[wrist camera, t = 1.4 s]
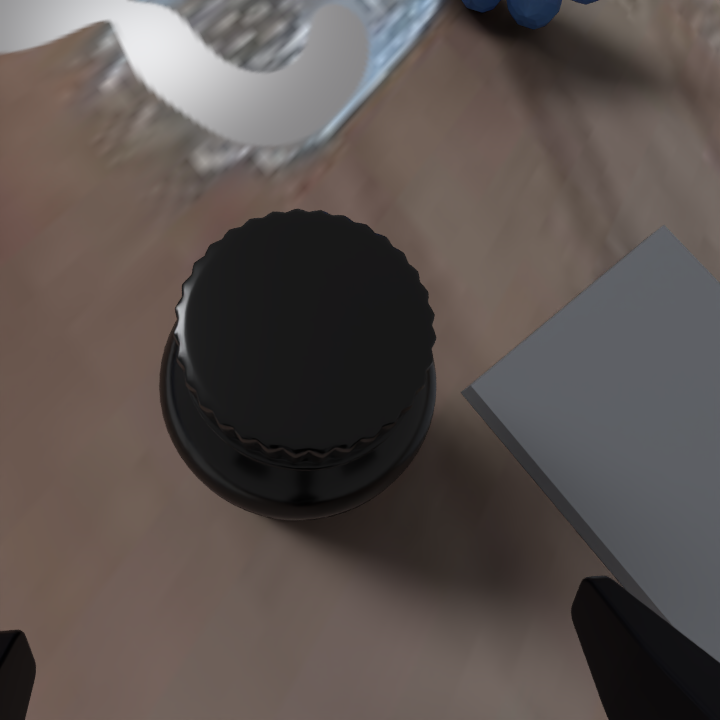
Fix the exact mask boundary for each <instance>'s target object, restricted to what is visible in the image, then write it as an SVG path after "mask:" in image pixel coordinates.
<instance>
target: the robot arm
mask: <svg viewBox="0 0 720 720" xmlns="http://www.w3.org/2000/svg"><path fill="white" fill-rule="evenodd" d="M571 615H572V620H573V624H574V626H575V629H576V632H577V635H578V638H579V640H580V643H581V646H582V649H583V652H584V654H585V657H586V660H587V663H588V666H589V668H590V671H591V674H592V677H593V680H594V682H595V685H596V688H597V691H598V694H599V696H600V699H601V702H602V704H603V707H604V710H605V712H606V715H607V717H608V719H609V720H720V662H718V661H717V660H716V659H715V658H713V657H712V656H711V655H709V654H708V653H707V652H706V651H704V650H703V649H702V648H700V647H699V646H698V645H697V644H695V643H694V642H693V641H691V640H690V639H689V638H687V637H686V636H685V635H684V634H682V633H681V632H680V631H678V630H677V629H676V628H675V627H673V626H672V625H671V624H669V623H668V622H667V621H666V620H664V619H663V618H662V617H660V616H659V615H658V614H656V613H655V612H654V611H653V610H651V609H650V608H649V607H647V606H646V605H645V604H644V603H642V602H641V601H640V600H638V599H637V598H636V597H635V596H633V595H632V594H631V593H629V592H628V591H627V590H625V589H624V588H623V587H622V586H620V585H619V584H618V583H616V582H615V581H614V580H612V579H611V578H609V577H607V576H593V577H586V578H584V579H583V580H582V581H581V584H580V586H579V589H578V591H577V594H576V596H575V599H574V602H573V604H572V608H571ZM35 674H36V663H35V660H34V657H33V654H32V652H31V649H30V646H29V644H28V641H27V638H26V636H25V634H24V632H22V631H21V630H8V631H0V720H25V717H26V713H27V709H28V705H29V701H30V696H31V692H32V688H33V684H34V680H35Z"/></svg>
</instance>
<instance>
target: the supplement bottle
mask: <svg viewBox="0 0 720 720" xmlns="http://www.w3.org/2000/svg"><path fill="white" fill-rule="evenodd" d="M428 298H429V296H428V291H427V290H426V289H425V287H424V286H423V285H422V284H421V283H420V280H419V274H418V271H417V270H416V269H415V268H414V267H412V266H411V265H410V264H408V261H407V259H406V256H405V254H404V253H403V252H402V251H400V250H398V249H396V248H395V247H393V246H392V245H391V243H390V241H389V240H388V239H387V237H385V236H382V235H380V234H377V233H374V232H373V230H372V229H371V228H370V227H368V226H367V225H366V224H362V223H355V222H353V221H351V220H350V219H349V218H347V217H346V216H344V215H330V214H328V213H327V212H324V211H322V210H318V211H312V212H307V211H304V210H301V209H294V210H291V211H289V212H286V213H284V212H271V213H270V214H268V215H267V216H265V217H263V218H253V219H249V220H248V221H247V222H246V223H245V224H244V225H243V226H242V227H238V228H234V229H231V230H229V231H228V232H227V233H226V234H225V236H224V237H223V239H222V240H219V241H217V242H215V243H213V244H211V245H210V246H209V248H208V249H207V252H206V254H205V256H204V257H202V258H201V259H199V260H198V261H196V262H195V263H194V265H193V269H192V275H191V276H190V277H189V278H188V279H187V280H186V281H185V282H184V283H183V284H182V298H181V299H180V301H179V302H178V304H177V306H176V307H175V313H176V317H177V320H176V322H175V324H174V326H173V328H172V330H171V332H170V334H169V337H168V340H167V343H166V345H165V349H164V353H163V357H162V362H161V369H160V383H159V391H160V403H161V408H162V414H163V418H164V421H165V424H166V428H167V430H168V433H169V435H170V438H171V440H172V442H173V444H174V446H175V448H176V449H177V451H178V453H179V455H180V456H181V458H182V459H183V460H184V462H185V463H186V465H187V466H188V467H189V468H190V470H191V471H192V472H193V473H194V474H195V475H196V477H197V478H198V479H199V480H200V481H202V482H203V483H204V484H205V485H206V486H207V487H208V488H209V489H210V490H212V491H213V492H214V493H216V494H217V495H218V496H220V497H221V498H223V499H225V500H226V501H228V502H230V503H231V504H233V505H235V506H237V507H240V508H242V509H244V510H246V511H249V512H252V513H255V514H258V515H261V516H265V517H269V518H273V519H274V518H275V519H280V520H299V521H300V520H313V519H320V518H325V517H330V516H333V515H337V514H340V513H344V512H346V511H349V510H351V509H354V508H356V507H358V506H360V505H362V504H364V503H366V502H367V501H369V500H371V499H372V498H374V497H375V496H377V495H378V494H380V493H381V492H382V491H384V490H385V489H386V488H387V487H388V486H390V485H391V484H392V483H393V482H394V481H395V480H396V479H397V478H398V477H399V476H400V475H401V474H402V473H403V472H404V471H405V469H406V468H407V467H408V466H409V464H410V463H411V462H412V460H413V459H414V457H415V456H416V454H417V453H418V451H419V449H420V447H421V445H422V443H423V442H424V440H425V437H426V435H427V432H428V430H429V427H430V423H431V420H432V416H433V411H434V406H435V398H436V372H435V363H434V359H433V354H432V347H433V345H434V343H435V341H436V335H435V332H434V329H433V327H432V323H433V321H434V315H435V314H434V312H433V311H432V309H431V307H430V305H429V304H428Z"/></svg>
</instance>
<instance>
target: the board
mask: <svg viewBox="0 0 720 720" xmlns="http://www.w3.org/2000/svg"><path fill="white" fill-rule="evenodd" d="M461 393H462V394H463V396H464V397H465V398H466V399H467V400H468V402H469V403H470V404H471V405H472V406H473V408H474V409H475V410H476V411H477V412H478V414H479V415H480V416H481V417H482V418H483V420H484V421H485V422H486V423H487V424H488V426H489V427H490V428H491V429H492V430H493V431H494V433H495V434H496V435H497V436H498V437H499V439H500V440H501V441H502V442H503V443H504V445H505V446H506V447H507V448H508V449H509V451H510V452H511V453H512V454H513V455H514V457H515V458H516V459H517V460H518V461H519V463H520V464H521V465H522V466H523V467H524V469H525V470H526V471H527V472H528V473H529V475H530V476H531V477H532V478H533V479H534V481H535V482H536V483H537V484H538V485H539V487H540V488H541V489H542V490H543V491H544V492H545V494H546V495H547V496H548V497H549V498H550V500H551V501H552V502H553V503H554V504H555V506H556V507H557V508H558V509H559V510H560V512H561V513H562V514H563V515H564V516H565V518H566V519H567V520H568V521H569V522H570V524H571V525H572V526H573V527H574V528H575V530H576V531H577V532H578V533H579V534H580V536H581V537H582V538H583V539H584V540H585V542H586V543H587V544H588V545H589V546H590V547H591V549H592V550H593V551H594V552H595V553H596V555H597V556H598V557H599V558H600V559H601V561H602V562H603V563H604V564H605V565H606V567H607V568H608V569H609V570H610V571H611V573H612V574H613V575H614V576H615V577H616V579H617V580H618V581H619V582H620V583H621V585H622V586H623V587H624V588H625V589H626V590H627V591H628V592H629V593H631V594H632V595H633V596H635V597H636V598H637V599H638V600H640V601H641V602H642V603H644V604H645V605H646V606H647V607H649V608H650V609H651V610H653V611H654V612H655V613H656V614H658V615H659V616H660V617H662V618H663V619H664V620H666V621H667V622H668V623H669V624H671V625H672V626H673V627H675V628H676V629H677V630H678V631H680V632H681V633H682V634H684V635H685V636H686V637H687V638H689V639H690V640H691V641H693V642H694V643H695V644H697V645H698V646H699V647H700V648H702V649H703V650H704V651H706V652H707V653H708V654H709V655H711V656H712V657H713V658H715V659H716V660H717V661H718V662H720V283H719V282H718V281H717V280H716V279H715V278H714V277H713V276H712V275H711V274H710V273H709V271H708V270H707V269H706V268H705V267H704V266H703V265H702V264H701V263H700V262H699V261H698V260H697V259H696V258H695V257H694V256H693V255H692V254H691V253H690V252H689V251H688V249H687V248H686V247H685V246H684V245H683V244H682V243H681V242H680V241H679V240H678V239H677V238H676V237H675V236H674V235H673V234H672V233H671V232H670V231H669V230H668V228H667V227H666V226H665V225H663V226H662V227H661V228H659V229H658V230H657V231H655V232H654V233H653V234H651V235H650V236H649V237H647V238H646V239H645V240H644V241H643V242H641V243H640V244H639V245H638V246H637V247H635V248H634V249H633V250H632V251H631V252H629V253H628V254H627V255H626V256H625V257H623V258H622V259H621V260H620V261H619V262H617V263H616V264H615V265H614V266H613V267H611V268H610V269H609V270H608V271H606V272H605V273H604V274H603V275H602V276H600V277H599V278H598V279H597V280H596V281H594V282H593V283H592V284H591V285H590V286H588V287H587V288H586V289H585V290H584V291H582V292H581V293H580V294H579V295H578V296H576V297H575V298H574V299H573V300H572V301H570V302H569V303H568V304H567V305H566V306H564V307H563V308H562V309H561V310H560V311H558V312H557V313H556V314H555V315H553V316H552V317H551V318H550V319H549V320H547V321H546V322H545V323H544V324H543V325H541V326H540V327H539V328H538V329H537V330H535V331H534V332H533V333H532V334H531V335H529V336H528V337H527V338H526V339H525V340H523V341H522V342H521V343H520V344H519V345H517V346H516V347H515V348H514V349H513V350H511V351H510V352H509V353H508V354H507V355H505V356H504V357H503V358H502V359H500V360H499V361H498V362H497V363H496V364H494V365H493V366H492V367H491V368H490V369H488V370H487V371H486V372H485V373H484V374H482V375H481V376H480V377H479V378H478V379H476V380H475V381H474V382H473V383H472V384H470V385H469V386H468V387H467V388H466V389H464V390H463V391H462V392H461Z"/></svg>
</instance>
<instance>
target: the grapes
mask: <svg viewBox="0 0 720 720" xmlns="http://www.w3.org/2000/svg"><path fill="white" fill-rule="evenodd" d="M461 1H462V2H463V3H464V5H465V6H466V8H469V9H472V10H475V11H478V12H481V13H483V12H486V11H489V10H492V9H494V8H495V7H496V5H497V4H498V3H499V2H500V1H501V0H461ZM506 1H507V6H508V10H509V12H510V14H511V15H512V17H513V18H514V20H515V21H516V22H517V24H518V25H521V26H524V27H527V28H531V29H537V28H540V27H543V26H546V25H547V24H548V23H549V22H550V21H551V20H552V18H553V17H554V16H555V15H556V14H557V13H558V12H559V9H560V6H561V2H562V0H506ZM572 1H575V2H577V3H581V4H585V5H586V4H589V3H593V2H596V1H598V0H572Z"/></svg>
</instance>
